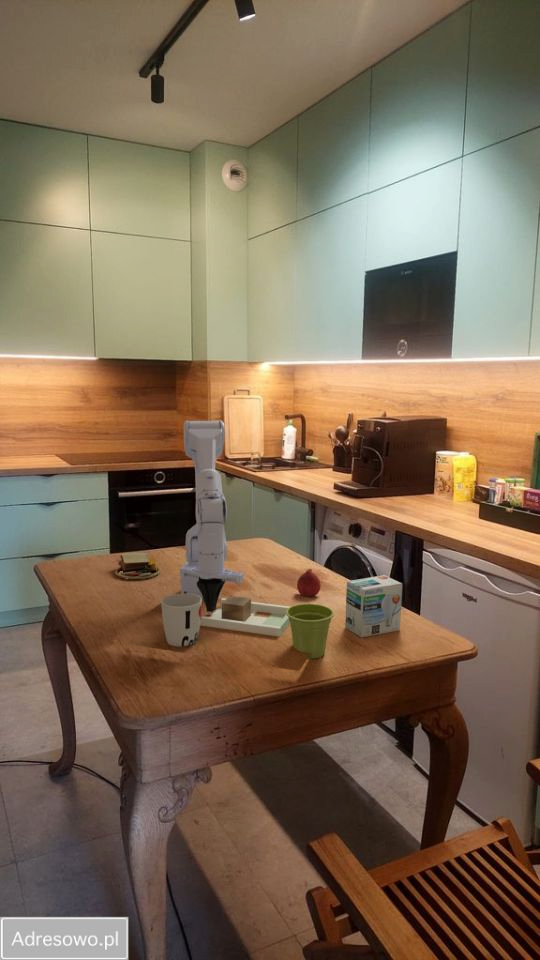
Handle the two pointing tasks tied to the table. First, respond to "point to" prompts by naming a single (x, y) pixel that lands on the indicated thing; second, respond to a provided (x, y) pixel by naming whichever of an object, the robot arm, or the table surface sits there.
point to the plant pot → (310, 628)
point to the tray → (252, 620)
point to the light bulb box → (373, 605)
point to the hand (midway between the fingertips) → (211, 610)
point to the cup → (181, 618)
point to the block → (236, 608)
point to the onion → (308, 584)
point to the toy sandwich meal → (137, 566)
